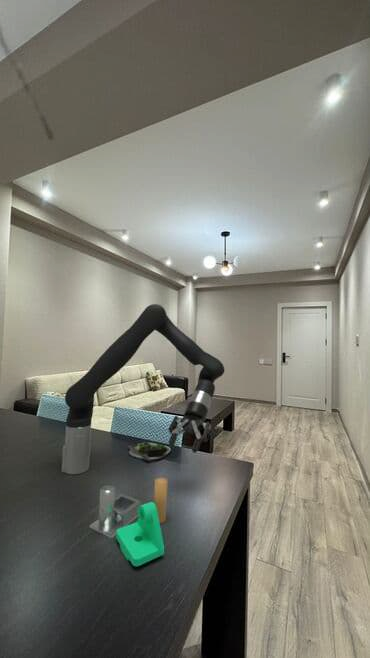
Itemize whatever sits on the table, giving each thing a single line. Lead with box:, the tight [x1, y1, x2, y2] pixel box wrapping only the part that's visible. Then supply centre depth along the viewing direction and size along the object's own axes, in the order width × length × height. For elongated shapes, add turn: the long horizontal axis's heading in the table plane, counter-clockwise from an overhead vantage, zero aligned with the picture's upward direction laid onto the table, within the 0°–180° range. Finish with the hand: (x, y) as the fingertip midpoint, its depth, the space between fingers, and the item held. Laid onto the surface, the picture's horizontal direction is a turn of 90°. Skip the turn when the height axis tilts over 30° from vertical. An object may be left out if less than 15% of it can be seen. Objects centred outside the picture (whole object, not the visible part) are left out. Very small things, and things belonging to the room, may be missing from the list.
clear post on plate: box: [89, 484, 142, 539], centre depth 82 cm, size 12×8×11 cm, turn 151°
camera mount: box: [115, 501, 165, 567], centre depth 72 cm, size 12×8×10 cm, turn 35°
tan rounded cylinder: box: [153, 477, 168, 524], centre depth 83 cm, size 4×4×11 cm
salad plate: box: [127, 442, 172, 462], centre depth 130 cm, size 19×18×5 cm
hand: (182, 448), depth 94 cm, fingers open, 8 cm apart
